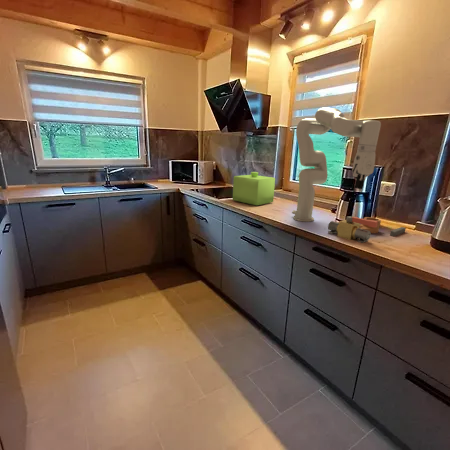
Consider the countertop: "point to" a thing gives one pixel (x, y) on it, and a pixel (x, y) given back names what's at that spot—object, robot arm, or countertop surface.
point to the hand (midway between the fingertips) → (358, 188)
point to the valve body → (349, 231)
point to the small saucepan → (371, 229)
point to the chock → (397, 231)
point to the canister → (253, 189)
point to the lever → (362, 221)
